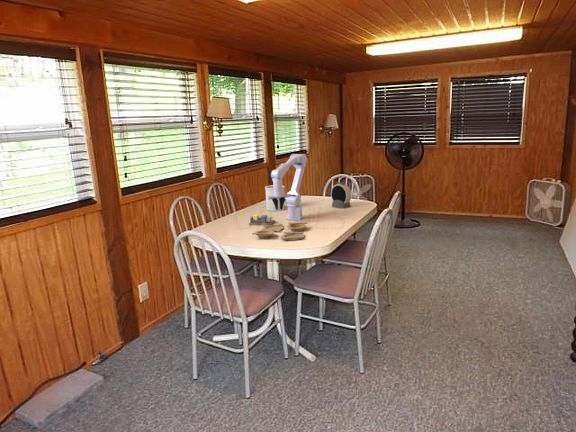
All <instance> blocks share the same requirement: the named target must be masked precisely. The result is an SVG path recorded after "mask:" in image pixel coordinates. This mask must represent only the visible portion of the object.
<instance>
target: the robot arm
mask: <svg viewBox="0 0 576 432" xmlns="http://www.w3.org/2000/svg"><path fill="white" fill-rule="evenodd" d="M307 161H308V159H307V155H306V154H305V153H299V154H298V153H292V154H291V155H290V156H289V158H288V160H287V161H285V162H284V163H280V165H279V166H278V167H277V168H276V169H272V170H271V172H270V177H271V179H272V180H271V182H273V183H272V185H273V188H274V195H273V196H267V199H268V200H270V199H272V201H273V203H274V205H275V208H276V210H278V200H277V199H278V198H279V201H280V209H283V204H284V202H285V206H286V207H287V218H286V220H287V221H291V220H292V221H300V220H302V218H303V208H302V207H303V206H302V205H300V204H301V201H302V195H301V194H300V188H301V184H302V181H303V180H302V179H303V176H304V172H305V168H306V166H307ZM291 166H293V167H294V168H295V173H294V177H293V181H292V185H291V188H290V191H288V192H287V193H285V194H283V188H282V185H283V179H284V176H285V174H286V173H287V172H289V169H290V167H291ZM277 197H278V198H277Z"/></svg>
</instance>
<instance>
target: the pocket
mask: <svg viewBox="0 0 576 432" xmlns="http://www.w3.org/2000/svg"><path fill="white" fill-rule="evenodd" d="M249 220H250V222H249V223H261V219H260V217H259V220H253V215H252V216H251V217H249Z"/></svg>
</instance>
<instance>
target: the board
mask: <svg viewBox="0 0 576 432" xmlns="http://www.w3.org/2000/svg"><path fill="white" fill-rule="evenodd" d="M275 223H276V220H275V219H273V221H272V222H266V223H250V222H249V223H248V225H249V226H263V225H274V224H275Z"/></svg>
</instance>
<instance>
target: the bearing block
mask: <svg viewBox="0 0 576 432" xmlns="http://www.w3.org/2000/svg"><path fill="white" fill-rule="evenodd" d="M265 217H268V214H263V215H261V216H259V218H260V219H261V223H266V220H265Z"/></svg>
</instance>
